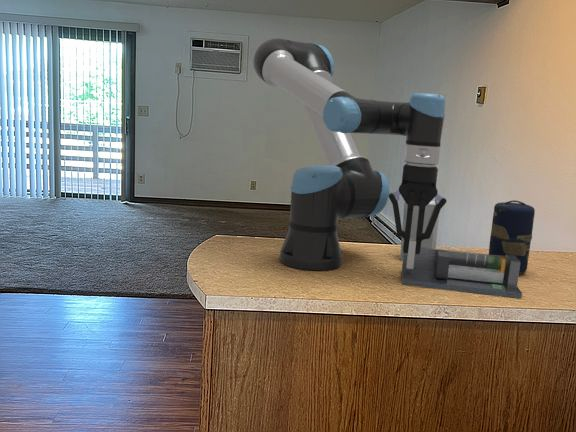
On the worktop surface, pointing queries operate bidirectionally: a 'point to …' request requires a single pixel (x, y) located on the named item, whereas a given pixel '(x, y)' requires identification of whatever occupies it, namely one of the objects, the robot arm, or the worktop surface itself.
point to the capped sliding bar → (467, 270)
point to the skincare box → (428, 212)
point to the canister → (512, 231)
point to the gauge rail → (427, 278)
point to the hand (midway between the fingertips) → (409, 267)
